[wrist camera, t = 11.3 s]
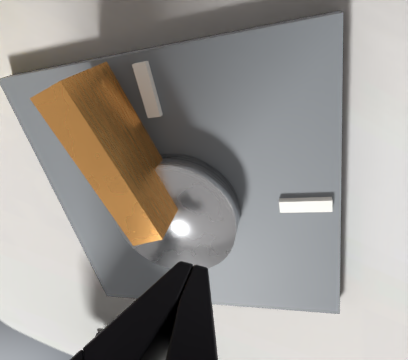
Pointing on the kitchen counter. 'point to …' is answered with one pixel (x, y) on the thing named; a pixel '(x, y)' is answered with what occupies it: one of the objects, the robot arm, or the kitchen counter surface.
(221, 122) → the board
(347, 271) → the kitchen counter surface
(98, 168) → the dial
